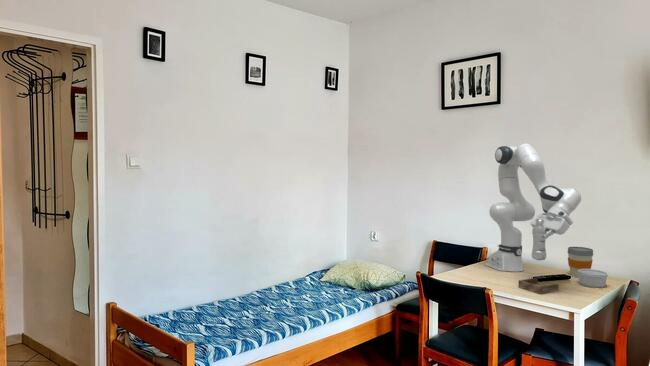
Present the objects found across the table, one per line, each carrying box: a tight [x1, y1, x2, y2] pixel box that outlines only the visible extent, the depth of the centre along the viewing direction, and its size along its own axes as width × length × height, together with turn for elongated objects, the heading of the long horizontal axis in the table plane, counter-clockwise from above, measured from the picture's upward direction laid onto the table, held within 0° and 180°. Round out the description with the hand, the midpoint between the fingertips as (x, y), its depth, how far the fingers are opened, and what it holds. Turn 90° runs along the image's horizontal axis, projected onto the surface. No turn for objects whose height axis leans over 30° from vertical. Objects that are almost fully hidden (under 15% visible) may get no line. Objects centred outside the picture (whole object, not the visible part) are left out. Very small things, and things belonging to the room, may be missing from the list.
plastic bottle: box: [531, 219, 548, 261], centre depth 229 cm, size 6×7×20 cm
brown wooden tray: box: [518, 277, 560, 295], centre depth 230 cm, size 13×13×4 cm
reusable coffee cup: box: [567, 246, 594, 278], centre depth 256 cm, size 13×13×15 cm
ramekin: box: [578, 268, 609, 289], centre depth 238 cm, size 13×13×7 cm
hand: (539, 236), depth 228 cm, fingers closed on plastic bottle, 6 cm apart
